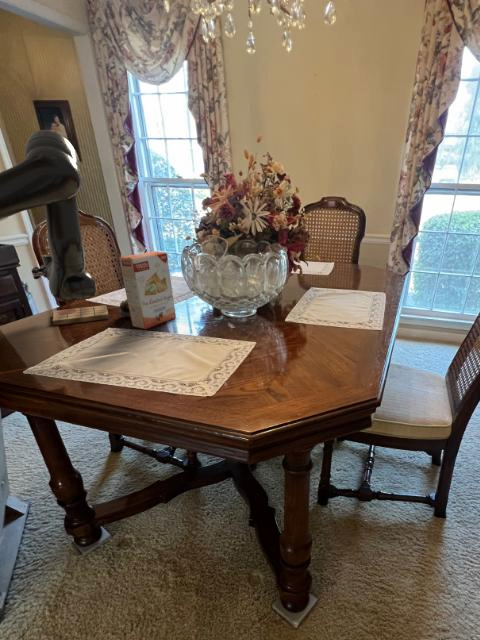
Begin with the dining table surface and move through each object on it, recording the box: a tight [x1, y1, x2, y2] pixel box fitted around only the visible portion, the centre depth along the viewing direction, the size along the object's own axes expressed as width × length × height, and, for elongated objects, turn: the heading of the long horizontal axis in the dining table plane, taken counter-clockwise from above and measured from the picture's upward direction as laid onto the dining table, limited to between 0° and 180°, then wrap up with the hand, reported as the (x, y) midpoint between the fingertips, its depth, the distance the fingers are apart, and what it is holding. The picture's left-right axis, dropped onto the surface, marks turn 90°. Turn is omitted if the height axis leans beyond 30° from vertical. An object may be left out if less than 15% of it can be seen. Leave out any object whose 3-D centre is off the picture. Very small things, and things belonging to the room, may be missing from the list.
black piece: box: [41, 253, 52, 266], centre depth 121 cm, size 5×5×10 cm
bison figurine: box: [118, 298, 131, 318], centre depth 125 cm, size 12×7×10 cm, turn 76°
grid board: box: [52, 304, 110, 326], centre depth 127 cm, size 16×12×2 cm
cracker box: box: [118, 251, 177, 330], centre depth 117 cm, size 14×6×21 cm, turn 154°
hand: (53, 267), depth 122 cm, fingers closed on black piece, 5 cm apart
